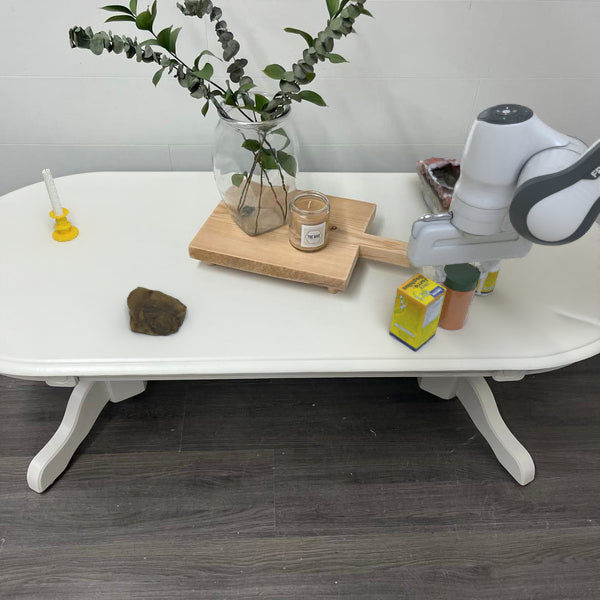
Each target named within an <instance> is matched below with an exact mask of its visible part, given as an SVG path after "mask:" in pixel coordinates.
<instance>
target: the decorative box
mask: <svg viewBox="0 0 600 600" xmlns="http://www.w3.org/2000/svg"><path fill="white" fill-rule="evenodd" d="M415 171H416V173H417V176H418V178H419V181H420V184H421V186H422V190H421V191H422V196H423V197H422V198H423V201H424V202H425V204H426V206H427V207H428V209H429V210H430V211H431V214H436V213H442V212H449V208H450V204H451V200H452V196H453V192H454V187H455V184H456V182H457V181H458V179H459V177H460V172H461V170H460V162H458V159H456V158H453V159H451V158H450V157H447V156H445V157H434V156H433V157H430V158H426V159H423V160H422V159H419V160H417V161H416V163H415Z"/></svg>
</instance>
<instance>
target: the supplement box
mask: <svg viewBox="0 0 600 600" xmlns="http://www.w3.org/2000/svg"><path fill="white" fill-rule="evenodd" d="M445 294H446V288H444V287H442V286H441V285H440V283H436V281H435V280H432V279H430V278H429V277H427V276H425V275H424V274H422V273H420V272H417V273H416V274H415V275H413V276H412V277H410V278H409V279H408V280H406V281H405V282H404V283H402V284H401V285H399V286H398V287H397V288H396V295H395V300H394V306H393V311H392V317H391V321H390V328H389V335H390V336H391V337H392V338H394V339H396V340H397V341H398V342H400V343H401V344H403V345H405V346H406V347H407V348H409V349H410V350H412V351H413V352H417V351H418V350H420V349H421V348H422V347H423V346H424V345H426V344H427V343H429V341H431V339H432V338H434V337H435V336H436V333H437V329H438V321H439V318H440V314H441V310H442V306H443V302H444V298H445Z"/></svg>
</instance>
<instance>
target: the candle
mask: <svg viewBox="0 0 600 600" xmlns="http://www.w3.org/2000/svg"><path fill="white" fill-rule="evenodd" d="M41 173H42V177H43V182H44V185H45V187H46V191H47V193H48V198H49V200H50V205H51V207H52V209H51V211H49V213H48V216H49V217H50V218H51V219H55V225H54V228H55V229H54V230H53V231H52V233H51V237H52V238H53V240H54V241H56V242H60V243H62V242H63V243H65V242H70V241H72V240H74V239H76V238H77V237H78V235H79V234H80V233H79V228H78V227H76V226H75V225H72V222H71V221H70V220H68V218H67V216H68V215H69V214H70V210H69V209H68V208H67V207H62V204H61V200H60V197H59V193H58V190H57V188H56V184H55V180H54V178H53V174H52V172H51V169H50V168H44V169H43V170H42V172H41Z"/></svg>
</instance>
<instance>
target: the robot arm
mask: <svg viewBox="0 0 600 600" xmlns="http://www.w3.org/2000/svg"><path fill="white" fill-rule="evenodd" d="M459 163H460V170H461V172H460V177H459V179H458V181H457V182H456V184H455V187H454V192H453V196H452V200H451V204H450V208H449V212H442V213H436V214H433V213H432V212H430V213H424V214H422V216H420V217H418V218H417V219H415V220H414V221H413V222H412V224H411V230H410V236H409V239H408V242H407V246H406V250H405V254H406V257H407V260H408V261H409V263H410V264H411V265H412V266H413V268H426V267H427V268H428V267H433V269H434V274H433V280H434V282H436V283H437V284H440V283H444V282H446V279H447V274H446V273H445V271H444V267H445V265H450V264H461V263H469V264H471V263H474V262H482V261H484V262H483V263H482V264H481V265H479V266H476V268H477V270H478V271H479V273H480V278H479V279H485V278H487V275H488V272H489V271H490V270H491V269H492V268H494V267H495V266H496V265H497V264H498V261H499V260H502V261H503V260H512V259H522V258H524V257H526V256H527V255H528V254H529V253H530V251H531V249H532V246H533V244H535V245H536V244H537V245H540V246H547V247H558V246H564V245H568V244H571V243H574V242H576V241H578V240H580V239H581V238H582V237H583V236H585V235H586V234H587V233H588V232H589V230H590V229H591V228H592V226H593V225H594V223H595V222H596V220H597V219H598V216H599V215H600V137H599V138H598V139H597V140H595V141H594V142H593V143H592V144H591V145H590V146H588V145H587V143H585V141H583V140H581V139H580V138H578V137H577V136H572V135H568V134H565V133H562V132H560V131H558V130H556V129H554V128H552V127H550V126H549V125H548V124H546V123H545V122H544V121H542V120H541V119H540V118H539V117H538V115H537V114H536V113H535V111H534V110H533V109H532V108H530V107H528V106H526V105H522V104H518V103H500V104H496V105H493V106H490V107H487V108H486V109H483V111H481V112H480V113H478V115H477V116H476V117H475V119H474V120H473V122H472V124H471V126H470V128H469V131H468V134H467V137H466V140H465V142H464V147H463V150H462V153H461V158H460V162H459Z"/></svg>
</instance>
